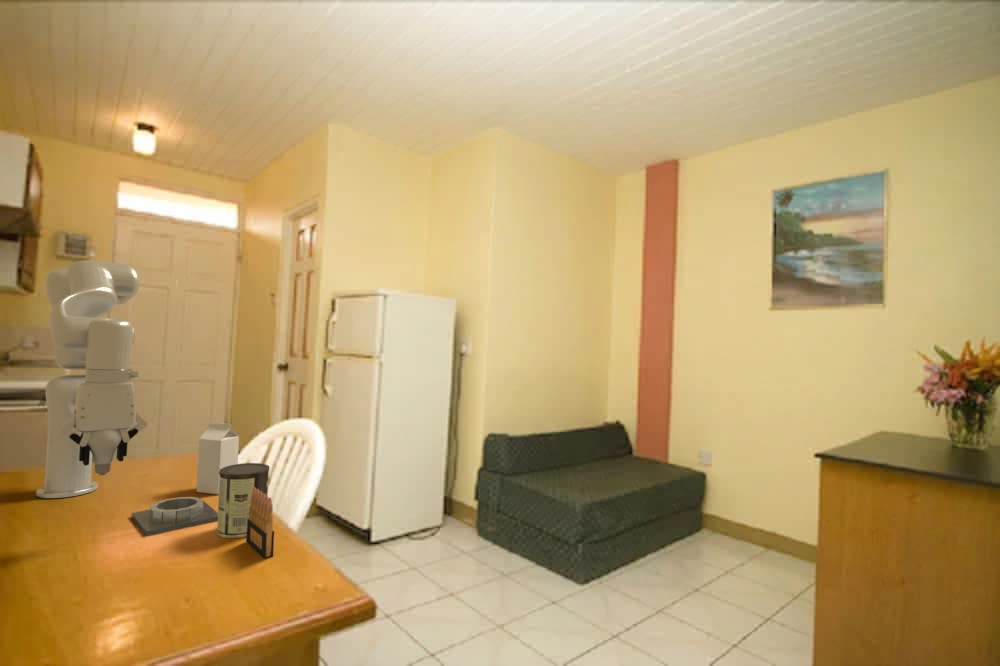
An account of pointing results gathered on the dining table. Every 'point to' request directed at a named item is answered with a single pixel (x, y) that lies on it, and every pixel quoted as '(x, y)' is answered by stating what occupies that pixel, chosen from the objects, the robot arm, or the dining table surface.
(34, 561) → the dining table surface
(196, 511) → the ring collar
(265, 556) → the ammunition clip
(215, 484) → the milk carton
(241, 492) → the coffee can
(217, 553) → the dining table surface
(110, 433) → the lightbulb
